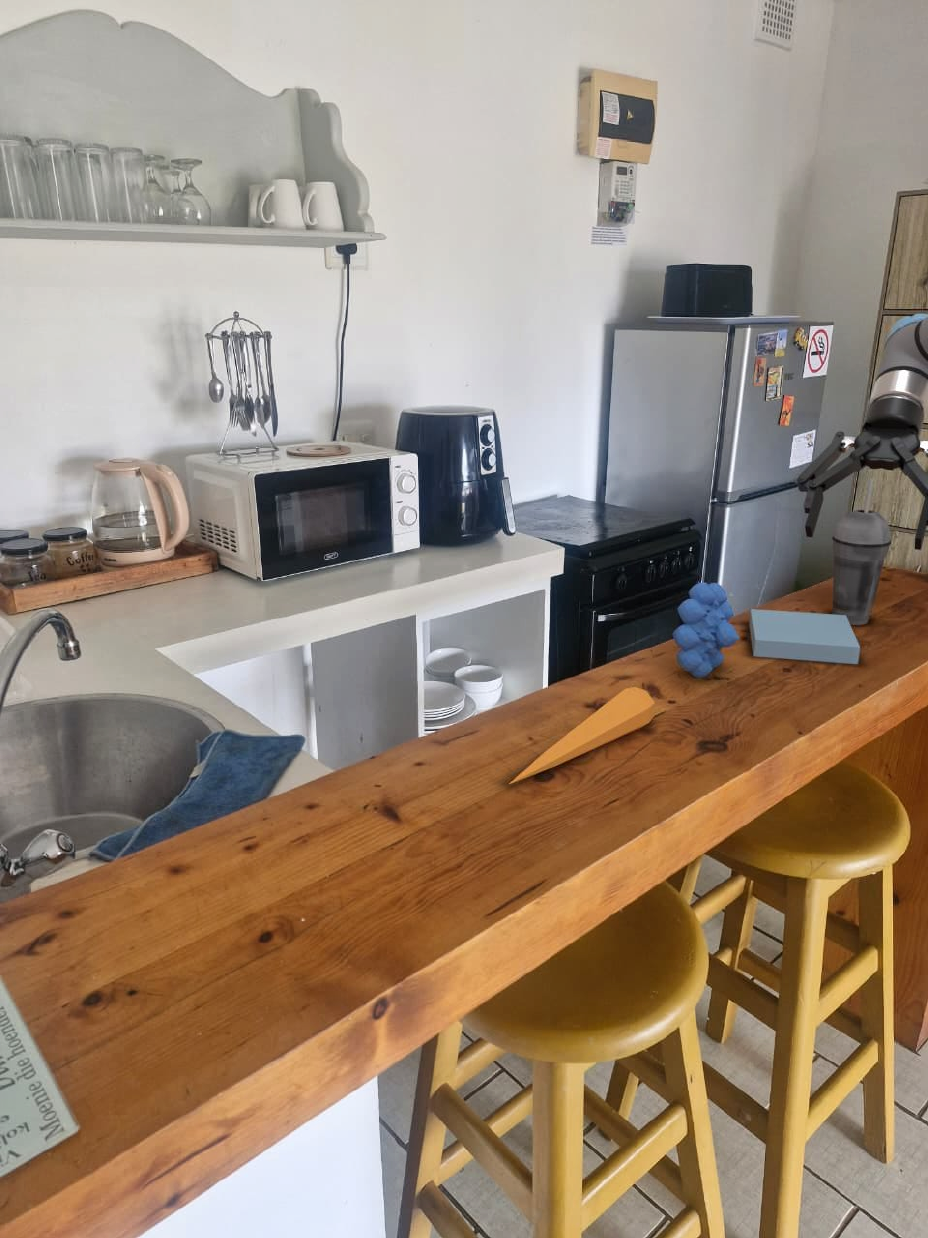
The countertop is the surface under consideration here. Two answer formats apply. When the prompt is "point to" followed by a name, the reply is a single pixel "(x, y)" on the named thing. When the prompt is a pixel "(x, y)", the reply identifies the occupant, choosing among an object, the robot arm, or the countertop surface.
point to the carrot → (598, 729)
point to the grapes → (704, 629)
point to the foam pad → (803, 636)
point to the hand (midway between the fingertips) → (861, 538)
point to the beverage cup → (858, 561)
